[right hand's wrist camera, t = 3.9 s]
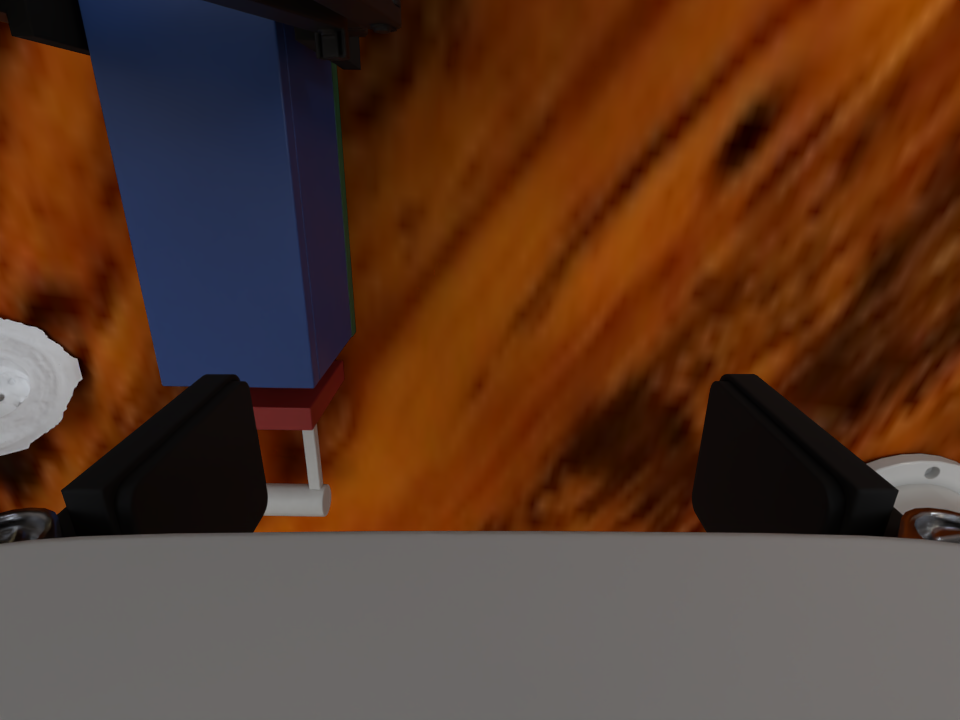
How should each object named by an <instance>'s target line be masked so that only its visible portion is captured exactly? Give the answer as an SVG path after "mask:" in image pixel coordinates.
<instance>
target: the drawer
mask: <svg viewBox="0 0 960 720" xmlns="http://www.w3.org/2000/svg"><path fill="white" fill-rule="evenodd" d="M344 379H345V378H344V366H343V361H342V360H334V361H333V363H332V364H331V365H330V367H329V368H328V369H327V371H326V372H325V374H324V375H323V376H322V378H321V379H320V380H319V382H318V383H317V385H316V386H315V387H314V388H258V387H249V388H250V393H251V399H252V405H253V411H254V416H255V422H256V428H257V429H259V430H302V432H303V440H304V449H305V457H306V466H307V474H308V482H309V484H285V483H266V486H267V492H268V504H267V508H266V511H265V513H264V515H266V516H326V515H327V514H328V511H329V508H330V503H331V490H330V486H329V485H328V484H323V479H322V469H321V460H320V451H319V442H318V432H317V422H318V421H319V419H320V418H321V416H322V414H323V413H324V411H325V410H326V408H327V406H328V405H329V403H330V401H331V400H332V398H333V397H334V395H335V393H336V392H337V390H338V389H339V387H340V385H341V384H342V382H343V381H344Z"/></svg>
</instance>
